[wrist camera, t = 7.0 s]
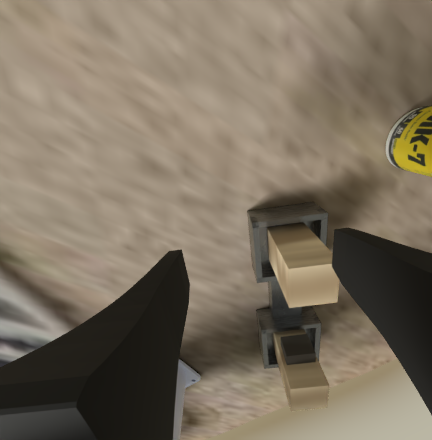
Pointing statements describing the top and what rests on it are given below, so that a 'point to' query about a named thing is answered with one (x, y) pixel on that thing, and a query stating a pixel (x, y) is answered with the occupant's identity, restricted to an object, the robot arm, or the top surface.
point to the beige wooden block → (302, 266)
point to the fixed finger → (300, 370)
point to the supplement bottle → (412, 142)
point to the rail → (279, 310)
